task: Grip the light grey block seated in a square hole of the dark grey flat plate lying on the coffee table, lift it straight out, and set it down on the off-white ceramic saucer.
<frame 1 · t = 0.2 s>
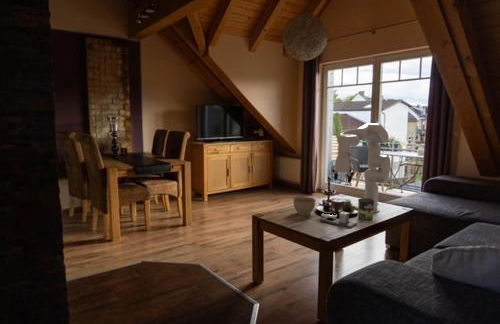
hand: (342, 180, 235), 30 cm above the table, fingers open, 9 cm apart
light grey block: (343, 224, 241), resting in dark grey flat plate
planter bowl: (304, 214, 265), on the table
dark grey flat plate: (338, 223, 244), on the table
coffee can: (365, 220, 251), on the table
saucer: (329, 215, 260), on the table
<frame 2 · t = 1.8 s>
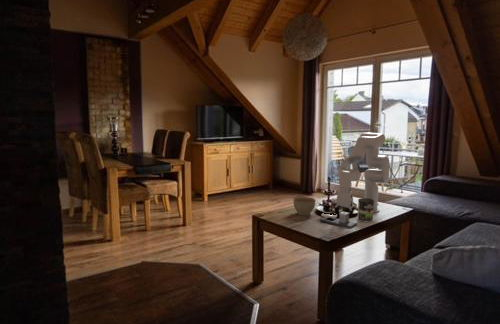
hand: (343, 214, 240), 7 cm above the table, fingers open, 9 cm apart
nothing on the table moved.
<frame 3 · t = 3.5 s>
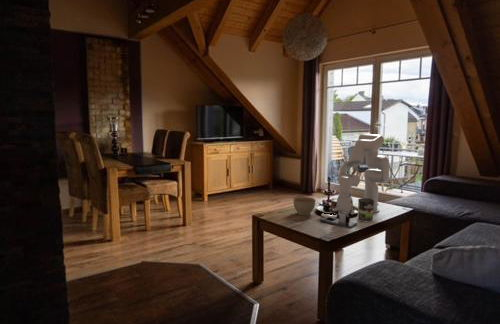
hand: (343, 221, 241), 2 cm above the table, fingers closed on light grey block, 4 cm apart
light grey block: (343, 224, 241), resting in dark grey flat plate, touching gripper
everything else where it was.
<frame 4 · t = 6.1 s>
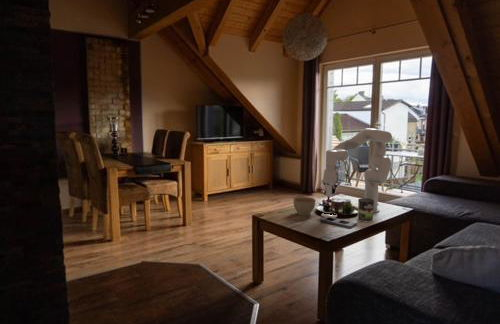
hand: (330, 192, 257), 17 cm above the table, fingers closed on light grey block, 4 cm apart
light grey block: (330, 195, 257), point 15 cm above the table, touching gripper
everything else where it was.
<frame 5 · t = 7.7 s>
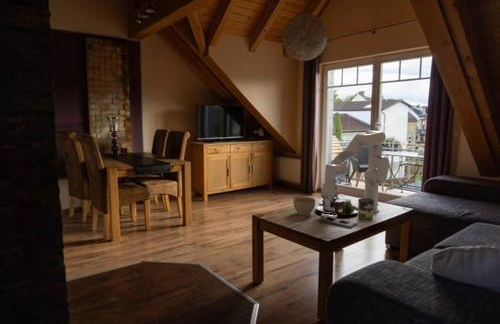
hand: (329, 206, 259), 7 cm above the table, fingers closed on light grey block, 4 cm apart
light grey block: (328, 209, 259), point 5 cm above the table, touching gripper
everything else where it was.
when the fingers open (4 cm above the table, at t = 8.9 s): light grey block drops 1 cm, resting on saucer.
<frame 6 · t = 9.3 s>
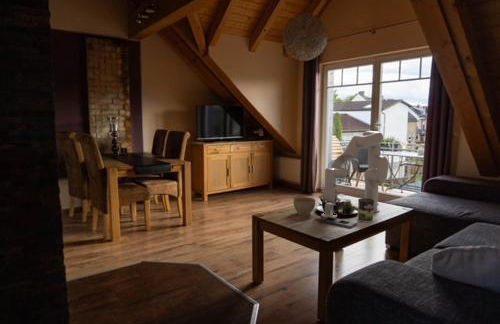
hand: (329, 209, 259), 5 cm above the table, fingers open, 8 cm apart
light grey block: (328, 214, 260), point 1 cm above the table, touching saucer
everything else where it was.
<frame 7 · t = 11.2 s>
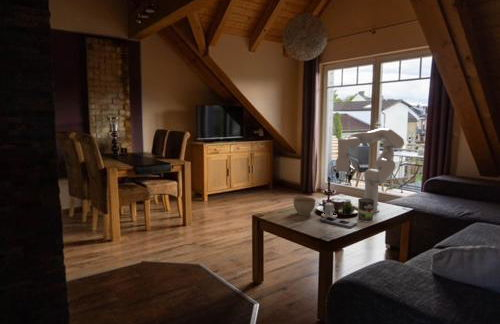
hand: (343, 179, 259), 26 cm above the table, fingers open, 9 cm apart
nothing on the table moved.
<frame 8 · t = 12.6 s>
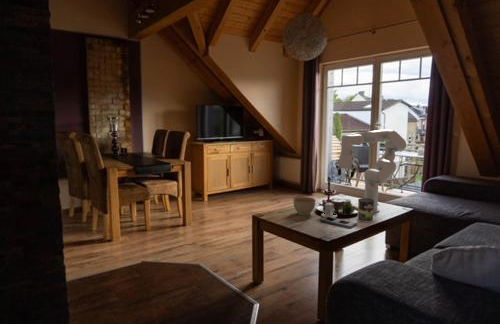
hand: (345, 176, 259), 28 cm above the table, fingers open, 9 cm apart
nothing on the table moved.
at the end: light grey block inside the target area on the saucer (0.1 cm from its centre), point 0.8 cm above the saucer's base; light grey block touching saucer; the gripper is holding nothing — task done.
